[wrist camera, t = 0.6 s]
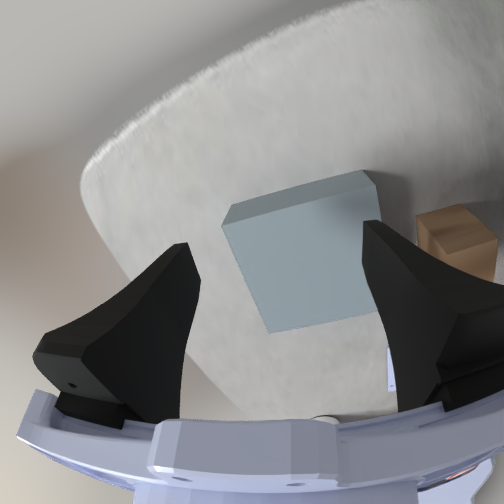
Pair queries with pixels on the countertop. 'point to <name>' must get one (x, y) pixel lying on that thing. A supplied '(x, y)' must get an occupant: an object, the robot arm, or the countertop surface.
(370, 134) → the countertop surface
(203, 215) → the countertop surface
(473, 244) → the walnut block
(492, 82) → the countertop surface
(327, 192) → the slate block
